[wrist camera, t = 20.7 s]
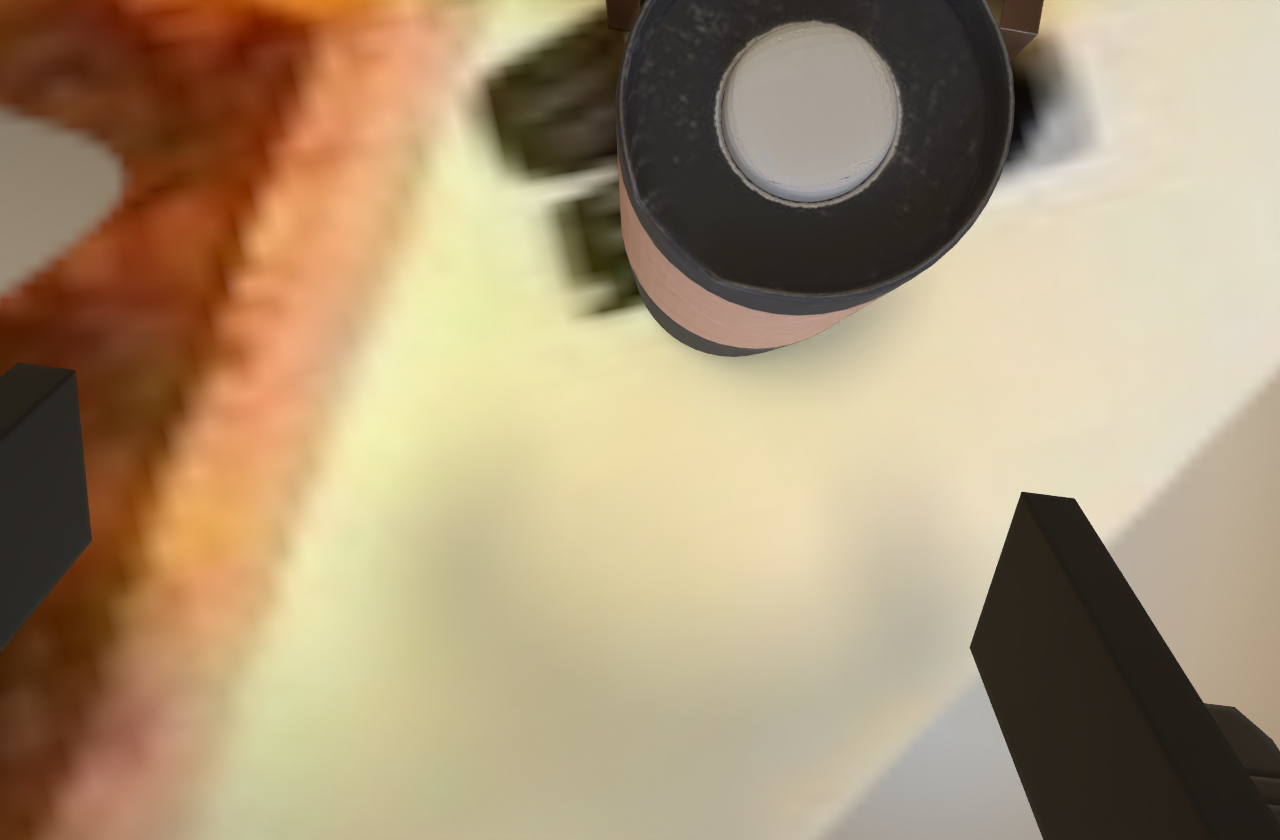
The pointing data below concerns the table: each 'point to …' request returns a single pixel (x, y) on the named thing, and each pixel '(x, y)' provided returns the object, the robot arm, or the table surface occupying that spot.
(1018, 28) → the shelf rack
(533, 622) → the table surface
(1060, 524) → the robot arm
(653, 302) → the travel mug
